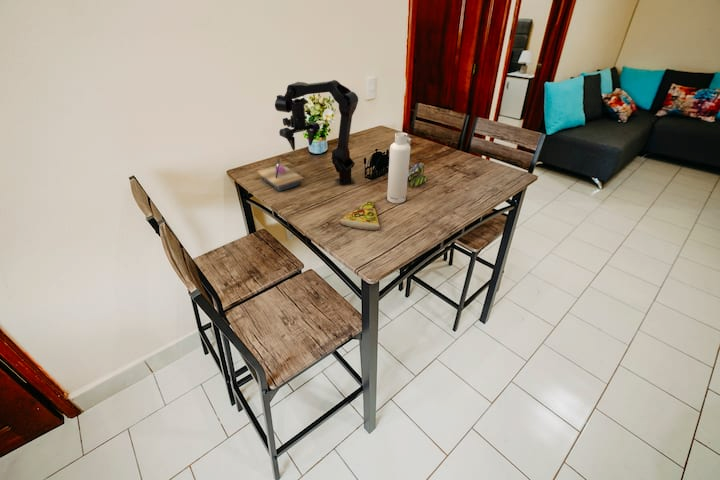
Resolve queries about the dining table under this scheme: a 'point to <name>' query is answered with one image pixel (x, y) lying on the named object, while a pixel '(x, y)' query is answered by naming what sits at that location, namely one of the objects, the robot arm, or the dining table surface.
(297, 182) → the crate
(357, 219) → the pizza slice
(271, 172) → the board
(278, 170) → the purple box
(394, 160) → the bottle
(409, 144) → the drinking glass
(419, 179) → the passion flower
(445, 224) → the dining table surface
